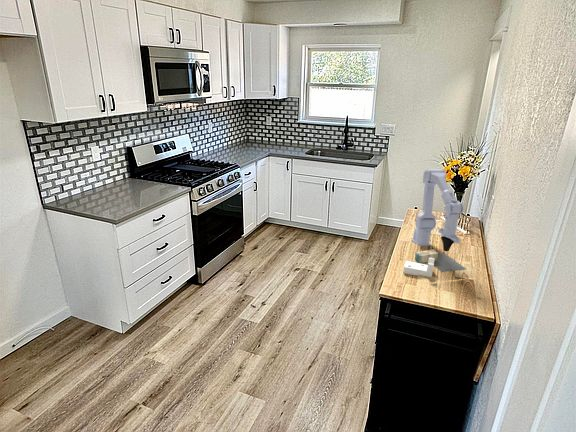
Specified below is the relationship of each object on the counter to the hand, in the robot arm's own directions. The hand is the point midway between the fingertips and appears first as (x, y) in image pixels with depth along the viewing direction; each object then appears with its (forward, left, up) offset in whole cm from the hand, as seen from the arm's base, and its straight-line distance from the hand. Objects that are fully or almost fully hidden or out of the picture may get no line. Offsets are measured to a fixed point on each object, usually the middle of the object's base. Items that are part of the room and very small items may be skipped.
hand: (446, 250), depth 188 cm
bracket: (+5, -18, -8) cm, 20 cm away
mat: (-1, 0, -7) cm, 7 cm away
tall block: (-4, -3, -4) cm, 6 cm away
